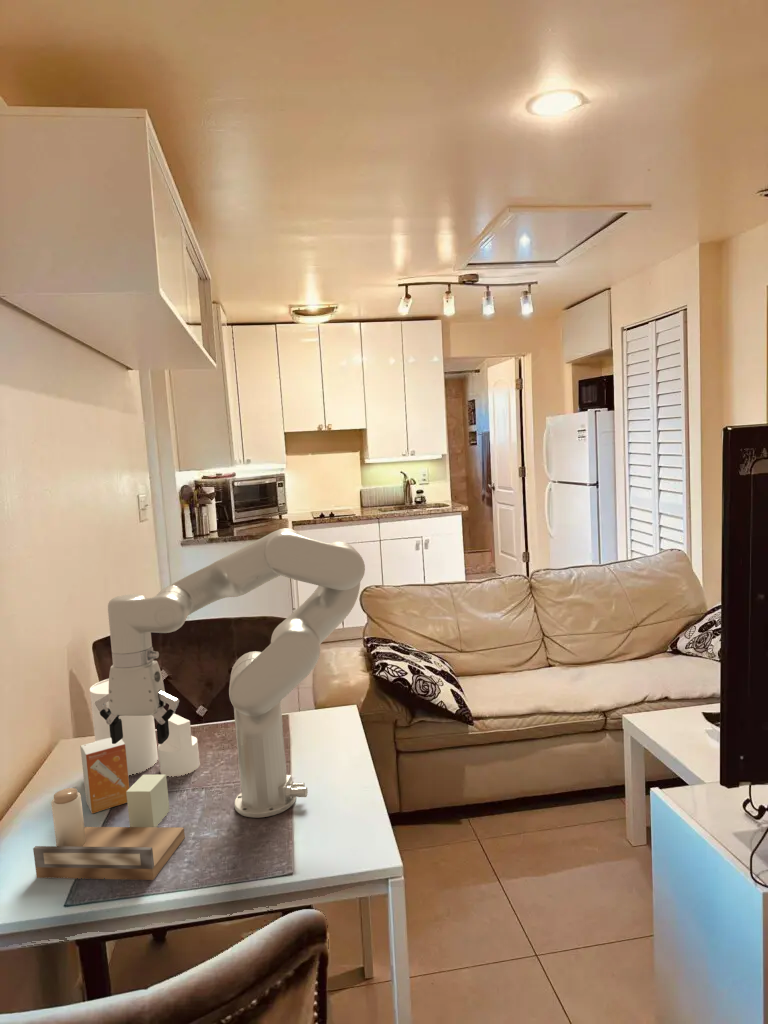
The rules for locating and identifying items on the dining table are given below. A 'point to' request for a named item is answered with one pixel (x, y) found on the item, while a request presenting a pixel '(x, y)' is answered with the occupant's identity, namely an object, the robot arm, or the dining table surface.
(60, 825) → the jar
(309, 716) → the dining table surface
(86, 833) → the shelf
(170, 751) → the base with upright slab
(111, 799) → the small box
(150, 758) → the canister
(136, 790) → the carton
